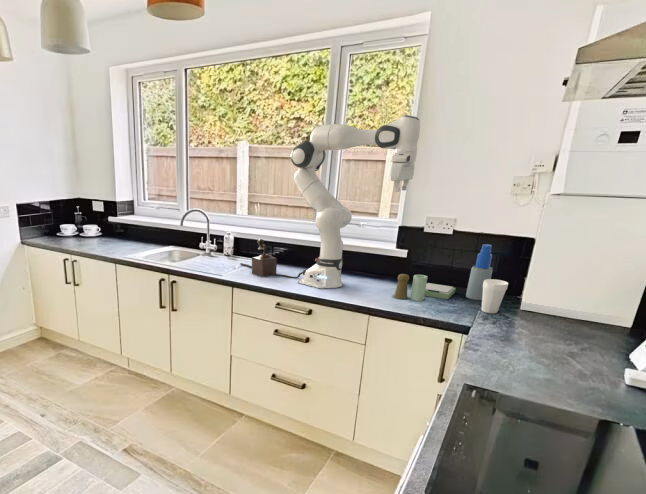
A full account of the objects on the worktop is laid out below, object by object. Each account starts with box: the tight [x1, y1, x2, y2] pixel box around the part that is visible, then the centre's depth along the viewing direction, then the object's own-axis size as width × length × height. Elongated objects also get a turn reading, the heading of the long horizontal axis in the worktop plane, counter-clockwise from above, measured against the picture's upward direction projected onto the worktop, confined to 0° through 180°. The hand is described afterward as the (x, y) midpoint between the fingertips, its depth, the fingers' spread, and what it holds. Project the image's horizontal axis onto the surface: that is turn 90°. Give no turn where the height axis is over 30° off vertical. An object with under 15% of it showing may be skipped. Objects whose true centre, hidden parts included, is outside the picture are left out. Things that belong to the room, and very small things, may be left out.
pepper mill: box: [251, 238, 278, 278], centre depth 258 cm, size 16×11×18 cm
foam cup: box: [480, 278, 509, 314], centre depth 198 cm, size 10×9×13 cm
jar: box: [409, 274, 429, 302], centre depth 214 cm, size 6×6×11 cm
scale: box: [424, 282, 456, 300], centre depth 224 cm, size 14×14×3 cm
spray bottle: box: [465, 243, 494, 301], centre depth 214 cm, size 9×9×25 cm
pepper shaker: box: [393, 273, 410, 300], centre depth 216 cm, size 6×6×11 cm
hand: (400, 191), depth 203 cm, fingers open, 8 cm apart
